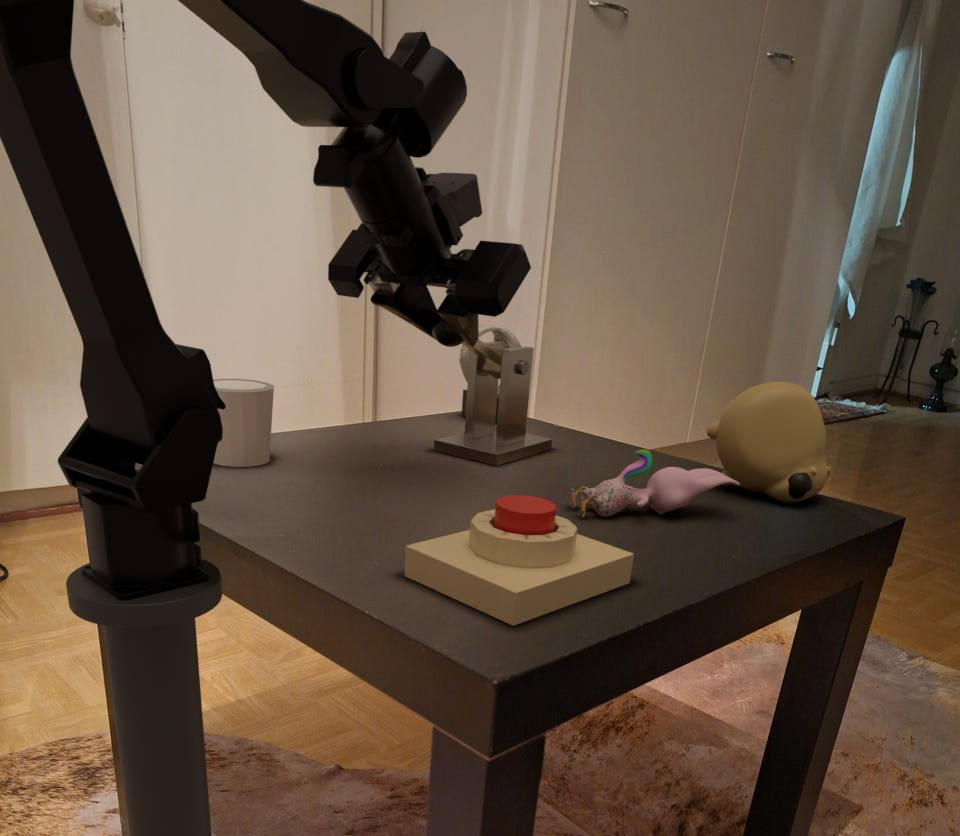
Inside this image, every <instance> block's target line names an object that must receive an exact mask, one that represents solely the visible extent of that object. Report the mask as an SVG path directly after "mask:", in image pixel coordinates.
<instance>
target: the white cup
mask: <svg viewBox="0 0 960 836" xmlns="http://www.w3.org/2000/svg"><path fill="white" fill-rule="evenodd" d="M213 381H214V386H215V388H216V391H217V393H218V395H219V397H220V398H221V399H222V401H223V402H224V403H225V405H226V408H225V409H218V411H219V413H220V416H221V421H222V427H223V437H222V440H221V441H220V442H218V445H217V449H216V453H215V458H214V462H213V465H218V466H221V467H222V466H223V467H229V468H230V467H231V468H250V467H258V466H263V465H266V464H268V463H270V458H271V445H272V443H271V442H272V441H271V440H272V427H273V426H272V424H273V408H274V407H273V406H274V393H275V392H274V391H275V385H273V384H272V383H269V382H266V381H260V380H253V379H245V378H218V379H213Z"/></svg>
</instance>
